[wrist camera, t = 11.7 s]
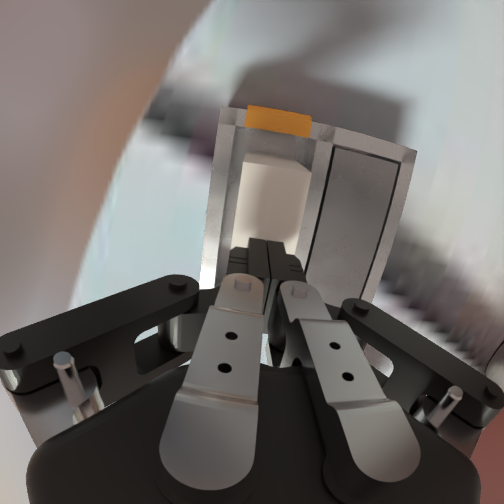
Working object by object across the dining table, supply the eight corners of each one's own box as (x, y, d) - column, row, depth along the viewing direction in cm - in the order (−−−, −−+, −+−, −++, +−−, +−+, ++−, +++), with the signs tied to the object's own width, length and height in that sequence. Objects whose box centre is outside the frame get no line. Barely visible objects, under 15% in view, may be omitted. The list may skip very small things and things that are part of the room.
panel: (292, 157, 19) (311, 173, 13) (271, 265, 22) (278, 323, 16) (246, 149, 19) (243, 161, 12) (230, 260, 22) (221, 316, 16)
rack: (394, 141, 19) (419, 146, 15) (349, 301, 24) (362, 328, 21) (227, 105, 18) (221, 100, 15) (204, 282, 23) (197, 309, 20)
